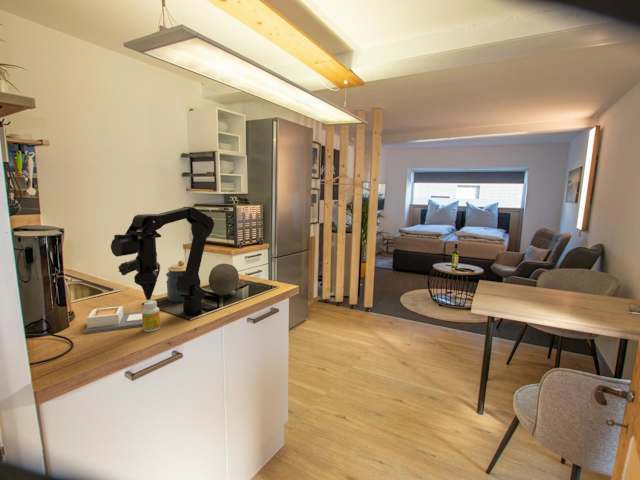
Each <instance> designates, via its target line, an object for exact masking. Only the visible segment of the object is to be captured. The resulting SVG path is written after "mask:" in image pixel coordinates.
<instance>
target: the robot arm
mask: <svg viewBox="0 0 640 480" xmlns="http://www.w3.org/2000/svg"><path fill="white" fill-rule="evenodd" d="M181 220H186V221H187V223H189V224H190V225H191V227H190V231H191V234H192V240H191V245H190V249H189V254H188V258H187V263H186V264H187V266H186V271H185V273H184V274H183V275H182V276H181V275H179V276H178V280H177V283H176V286H177V291H178V293H179V294H180V296H181V297H184V300H185V301H183V302H182V308H183V311H182V312H183V313H184V316H191V315H192V314H193V315H199V314H200V315H201V314H203V307H202V300H203V299H204V298H205V297H206V291H205V290H204V289H203V288H202V287H201V279H200V276H199V271H200V268H201V263H202V259H203V255H204V250H205V246H206V241H207V238H208V237H210V235H211V234H212V232H213V230H214V227H215V221H214V220H213V217H211V216H208V215H207V214H205V213H203V212H201V211H199V210H198V209H197V208H196V207H194V206H183V207H180V208H176V209H173V210H169V211H168V210H167V211H164V212H160V213H147V214H146V213H143V214H136V215H134V216H133V219H132V222H131V223H130V225H129V227H128V229H127V230H126V232H125V233H124V234H114V235H113V237H114V238H113V239H112V241H111V244H110V250H111V254H112V255H114V256H115V257H118V258H119V257H123V256H129V255H135V254H137V255H136V257H135V258H134V259H131V260H128V261H124V262H122V263H120V265H119V266H118V268H117V269H118V272H119V273H121V275H122V276H126V275H127V274H129V273H133V272H134V271H136V274H135V275H134V279H133V280H134V283H135V284H136V285H139V286H140V287H141V289H142V291H143V293H144V296H145V300H147V301H151V298H152V296H153V292H154V291H155V287H156V285H157V282H158V277H159V275H160V272H161V264H160V263H159V262H158V253H157V240H156V238H161V237H162V235H161V234H160V233H158V231H157V230H160V229H162V227H163V226H166V225H168V224H171V223H175V222H179V221H181Z"/></svg>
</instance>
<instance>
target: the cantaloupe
mask: <svg viewBox="0 0 640 480" xmlns="http://www.w3.org/2000/svg"><path fill="white" fill-rule="evenodd" d="M239 280H240V277H239V272H238V270H237V268H236V266H234V265H232V264H229V263H220V264H216V265H215V266H214V267H213V268H211V270H210V272H209V276H208V286H209V287H210V289H211V291H212V293H214V294H216V295H218V296H227V295H229V294H230V293H233V292H234V290H236V288H237V286H239V285H238V284H239Z"/></svg>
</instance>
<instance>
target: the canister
mask: <svg viewBox="0 0 640 480" xmlns="http://www.w3.org/2000/svg"><path fill="white" fill-rule="evenodd" d="M186 266H187V263H185V261H184V260H181V259H180V260H179V261H178V262H177V263H176V264H171V266H169V267H168V268H167V270H168V271H167V272H166V273H165V276H166V277H167V278H166V279H167V280H166V282H165V283H166V298H167V301H168V302H171V303H183V301H185V300H184V297H181V296H180V294H179V293H178V291H177V286H176V283H177V280H178V276H179V275H181V276H182V275H183V274H184V273H185V271H186Z"/></svg>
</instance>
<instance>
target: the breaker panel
mask: <svg viewBox="0 0 640 480" xmlns="http://www.w3.org/2000/svg"><path fill="white" fill-rule="evenodd" d="M123 307H124V306H121V305H120V306H112V307H111V306H110V307H100V308H93V309H92V311H91V312H90V313H89V315H87V318H86V320H87V321H86V322H87V326H86V328H85V329H84V334H92V333H100V332H108V331H115V330H116V331H117V330H123V329H132V328H140V327H143V320H138V321H129V322H127V319H128V317H129V315H133V314H142V310H139V311H130V312H124V308H123ZM110 310H116V314H110V315H101V316H96V315H97V314H98V312H101V311H110Z"/></svg>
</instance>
